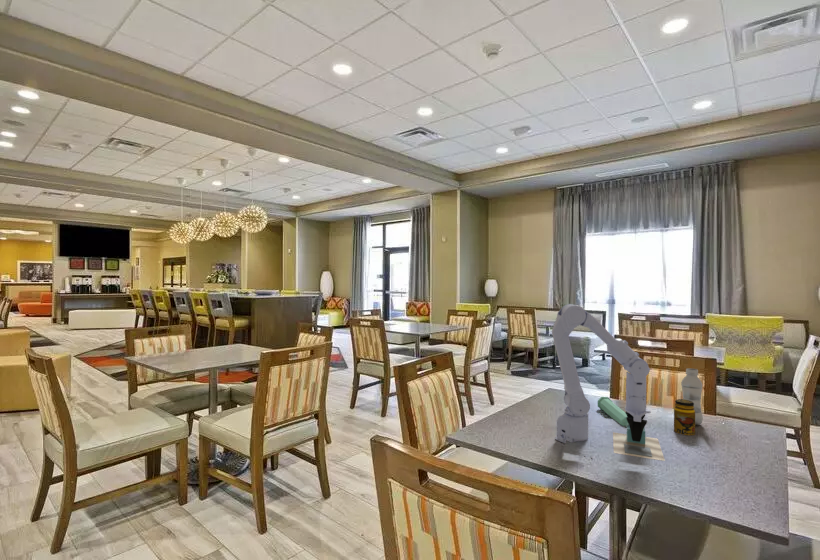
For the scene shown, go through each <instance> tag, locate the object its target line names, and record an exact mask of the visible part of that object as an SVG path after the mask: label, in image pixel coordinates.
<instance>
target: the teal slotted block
mask: <svg viewBox="0 0 820 560" xmlns="http://www.w3.org/2000/svg"><path fill="white" fill-rule="evenodd" d="M626 434H627V442H633V443H640V444H645V437H646V429H645V427H644V429H643V432H642V437H641V440H640V442H637V441H633V440H632V436H631V430H630V426H629V424H627V426H626Z"/></svg>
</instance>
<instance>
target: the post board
mask: <svg viewBox="0 0 820 560" xmlns="http://www.w3.org/2000/svg"><path fill="white" fill-rule="evenodd" d="M612 445H613V454H619V455H624V456H632V457H637V458H642V459H643V458H644V459H649V460H656V461H664V462H665V461H666V459H665V457H664V454H663V451H662V448H661V444H660V441H659V439H658V438H656V437H650V436H645V444H640V443H633V442H627V433H620V432H614V431H613V432H612Z"/></svg>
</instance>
